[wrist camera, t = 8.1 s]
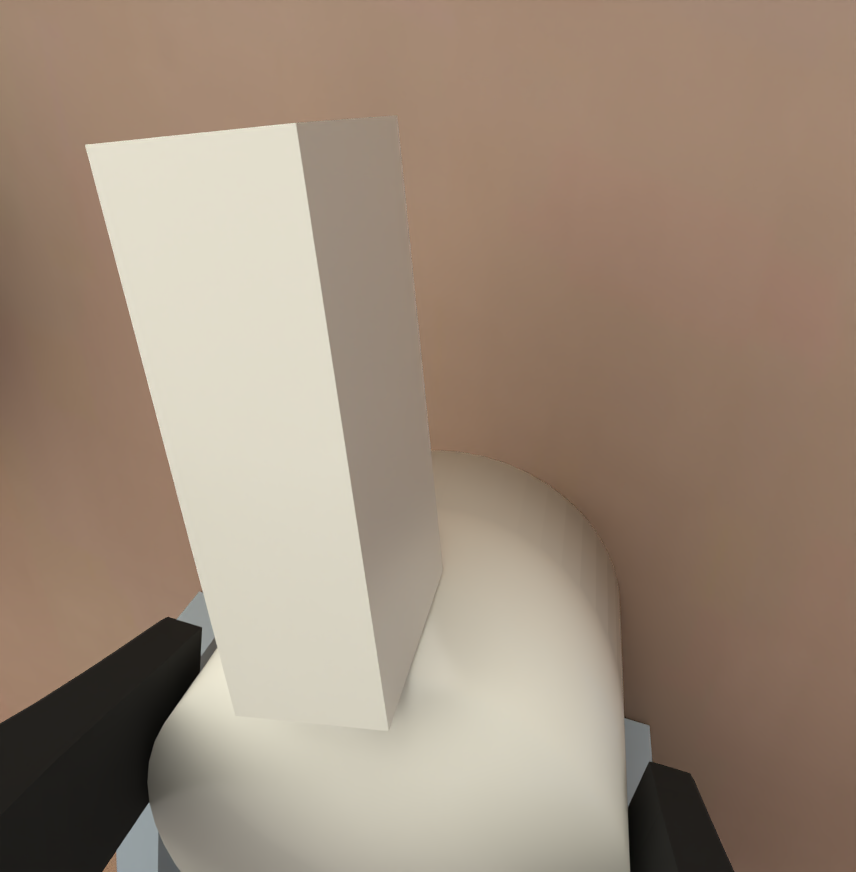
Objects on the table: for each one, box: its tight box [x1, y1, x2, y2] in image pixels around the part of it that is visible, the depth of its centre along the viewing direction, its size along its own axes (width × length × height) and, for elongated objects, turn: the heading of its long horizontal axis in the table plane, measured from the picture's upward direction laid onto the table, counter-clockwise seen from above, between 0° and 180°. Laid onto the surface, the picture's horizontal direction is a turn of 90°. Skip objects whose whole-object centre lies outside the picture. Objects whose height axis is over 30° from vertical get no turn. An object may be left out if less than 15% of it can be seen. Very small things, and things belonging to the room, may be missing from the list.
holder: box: [116, 592, 652, 872], centre depth 17 cm, size 11×10×3 cm
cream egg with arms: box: [85, 115, 630, 872], centre depth 12 cm, size 17×7×7 cm, turn 5°
